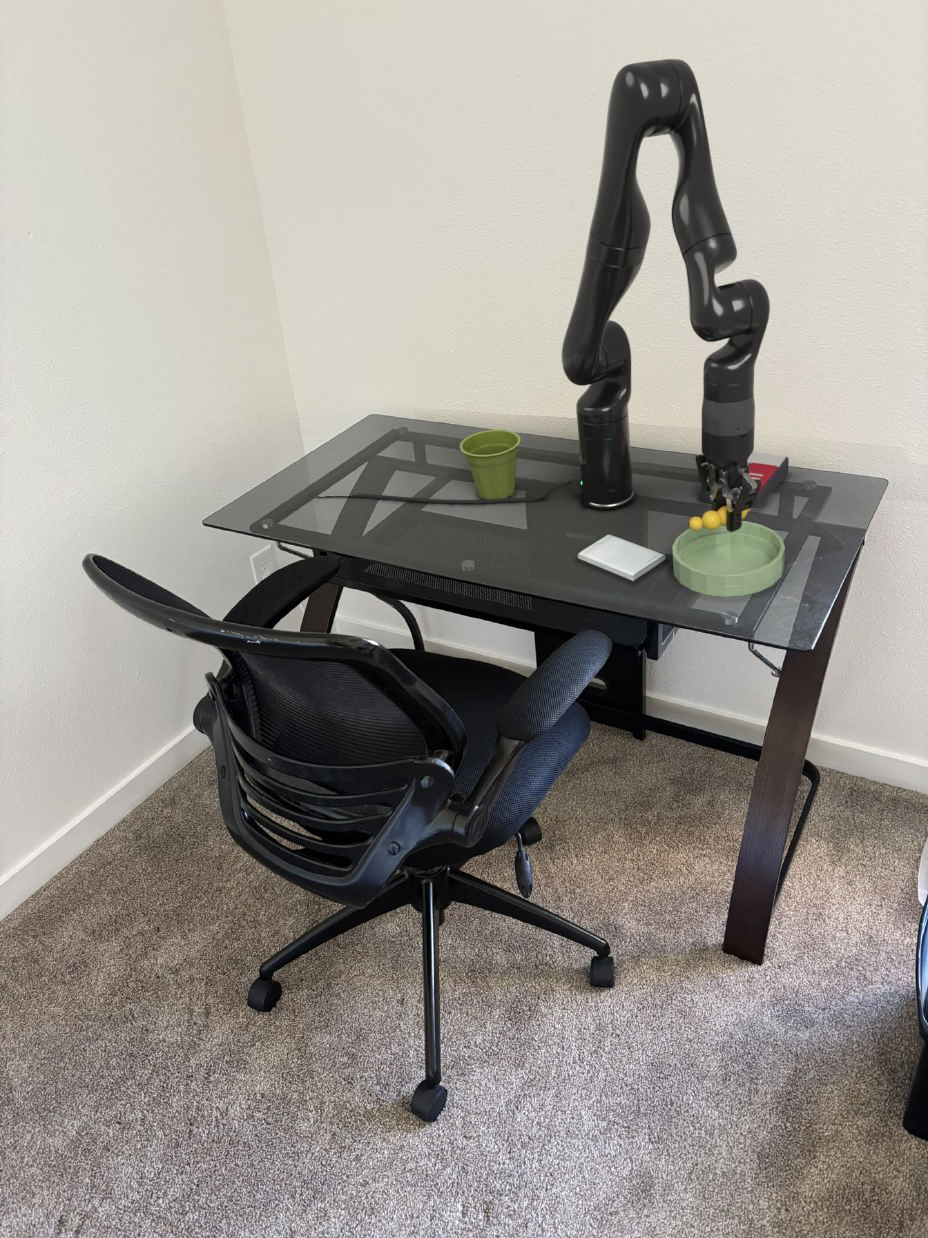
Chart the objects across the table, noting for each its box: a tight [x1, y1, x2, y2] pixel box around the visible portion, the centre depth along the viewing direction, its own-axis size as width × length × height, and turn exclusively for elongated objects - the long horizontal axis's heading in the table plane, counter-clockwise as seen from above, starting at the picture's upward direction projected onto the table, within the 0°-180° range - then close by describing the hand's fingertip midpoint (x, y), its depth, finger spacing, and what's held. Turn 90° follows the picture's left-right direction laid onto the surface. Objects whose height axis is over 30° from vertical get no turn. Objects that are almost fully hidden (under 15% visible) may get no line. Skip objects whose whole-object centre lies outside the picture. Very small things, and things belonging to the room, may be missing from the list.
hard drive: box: [577, 534, 666, 582], centre depth 160 cm, size 2×8×12 cm
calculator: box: [700, 451, 790, 509], centre depth 174 cm, size 11×4×15 cm
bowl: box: [671, 520, 786, 598], centre depth 152 cm, size 17×17×4 cm
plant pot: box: [459, 429, 522, 500], centre depth 185 cm, size 12×12×11 cm
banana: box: [687, 506, 752, 531], centre depth 147 cm, size 12×4×3 cm, turn 113°
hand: (726, 524), depth 148 cm, fingers closed on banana, 3 cm apart
